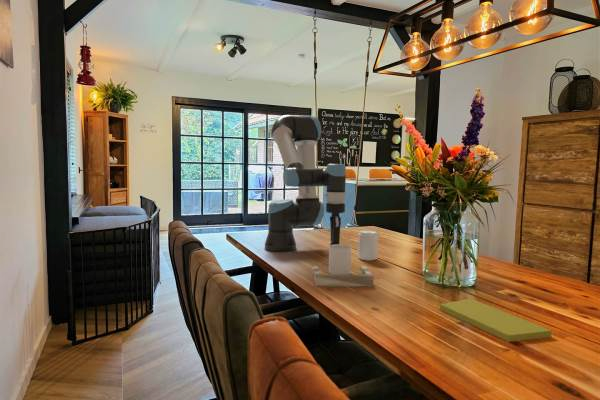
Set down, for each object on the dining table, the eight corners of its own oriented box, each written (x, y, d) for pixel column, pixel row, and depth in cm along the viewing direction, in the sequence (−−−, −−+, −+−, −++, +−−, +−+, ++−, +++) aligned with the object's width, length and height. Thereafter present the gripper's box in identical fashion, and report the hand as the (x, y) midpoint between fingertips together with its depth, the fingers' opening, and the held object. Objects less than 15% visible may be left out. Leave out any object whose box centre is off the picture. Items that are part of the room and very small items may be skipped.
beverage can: (356, 260, 166) (357, 232, 165) (360, 255, 173) (361, 229, 172) (375, 262, 163) (376, 234, 162) (378, 257, 170) (379, 230, 169)
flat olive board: (439, 311, 111) (517, 348, 89) (440, 304, 110) (518, 339, 89) (470, 305, 116) (551, 339, 94) (470, 298, 116) (551, 330, 94)
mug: (321, 268, 152) (321, 242, 151) (340, 267, 154) (341, 241, 153) (334, 277, 140) (334, 249, 139) (354, 275, 143) (355, 248, 142)
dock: (312, 275, 143) (312, 265, 143) (365, 275, 144) (365, 265, 144) (315, 286, 130) (315, 276, 130) (373, 286, 131) (373, 276, 131)
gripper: (324, 200, 161) (323, 256, 163) (328, 204, 148) (327, 264, 150) (342, 201, 161) (341, 256, 163) (347, 204, 148) (346, 264, 150)
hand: (334, 260), depth 157 cm, fingers closed
